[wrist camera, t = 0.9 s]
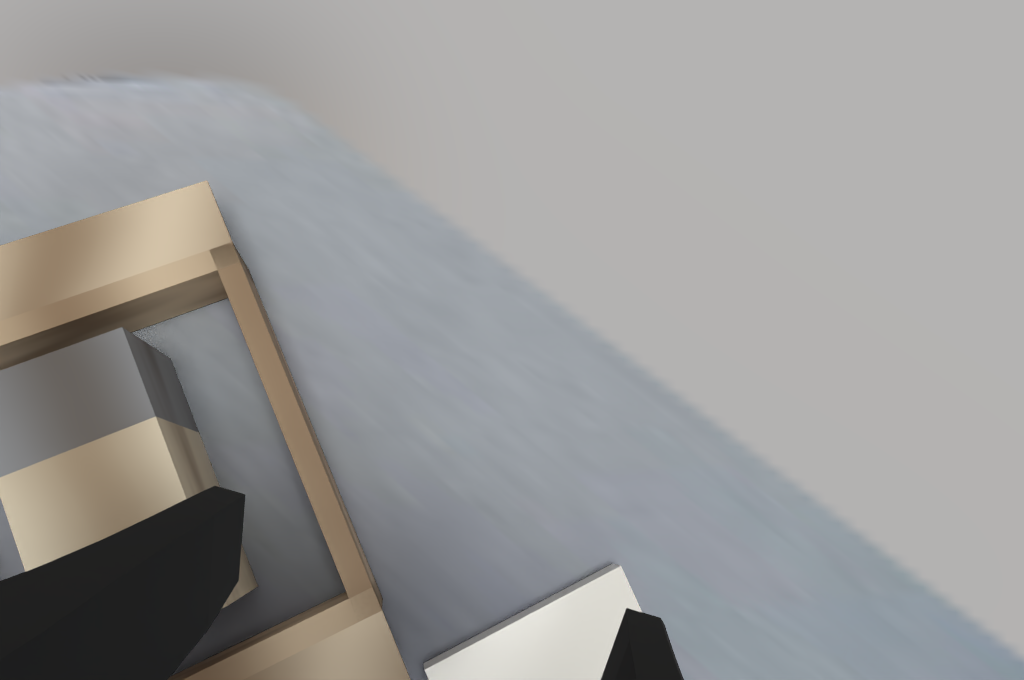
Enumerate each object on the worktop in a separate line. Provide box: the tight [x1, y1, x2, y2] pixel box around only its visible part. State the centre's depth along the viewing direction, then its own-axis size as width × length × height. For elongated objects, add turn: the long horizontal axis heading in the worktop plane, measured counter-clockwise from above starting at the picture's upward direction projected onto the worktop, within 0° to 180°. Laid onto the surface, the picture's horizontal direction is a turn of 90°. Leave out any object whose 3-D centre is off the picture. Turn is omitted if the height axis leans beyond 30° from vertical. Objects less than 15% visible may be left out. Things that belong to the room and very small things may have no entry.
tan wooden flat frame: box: [0, 181, 411, 680], centre depth 23 cm, size 12×19×3 cm, turn 25°
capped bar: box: [0, 327, 258, 608], centre depth 23 cm, size 4×9×5 cm, turn 25°
